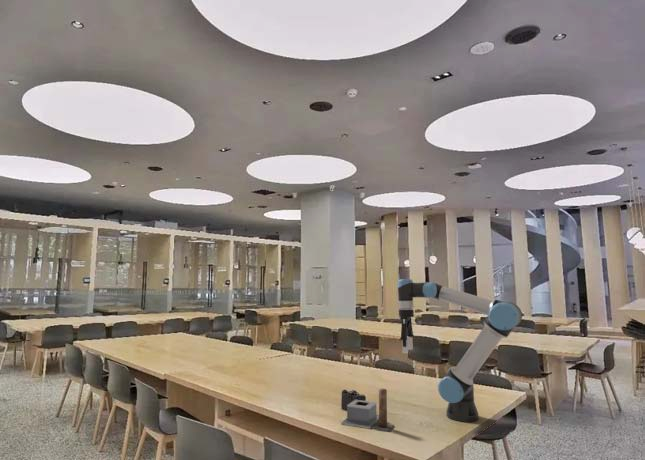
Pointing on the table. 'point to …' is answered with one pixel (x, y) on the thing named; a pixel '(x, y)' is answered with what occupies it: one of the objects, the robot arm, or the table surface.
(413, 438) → the table surface
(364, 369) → the table surface
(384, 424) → the walnut dowel
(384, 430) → the rubber mat
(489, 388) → the table surface
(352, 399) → the camera
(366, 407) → the box
